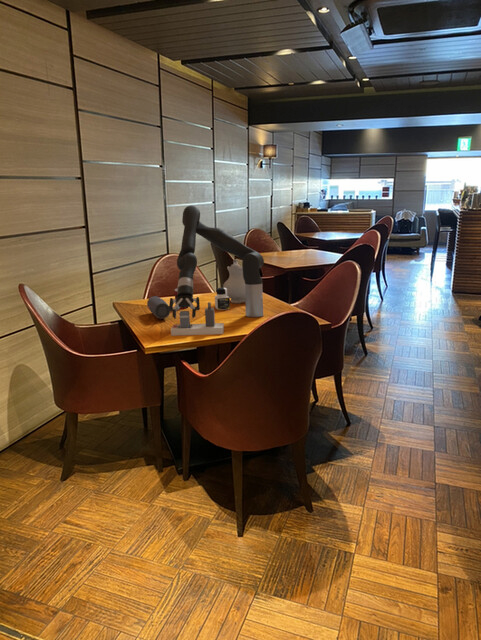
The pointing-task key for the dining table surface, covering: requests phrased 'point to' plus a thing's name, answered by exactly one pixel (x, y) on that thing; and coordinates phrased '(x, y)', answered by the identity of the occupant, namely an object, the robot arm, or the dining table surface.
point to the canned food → (176, 297)
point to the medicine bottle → (222, 299)
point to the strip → (201, 326)
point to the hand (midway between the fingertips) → (183, 317)
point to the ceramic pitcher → (235, 283)
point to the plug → (184, 319)
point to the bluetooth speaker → (158, 307)
